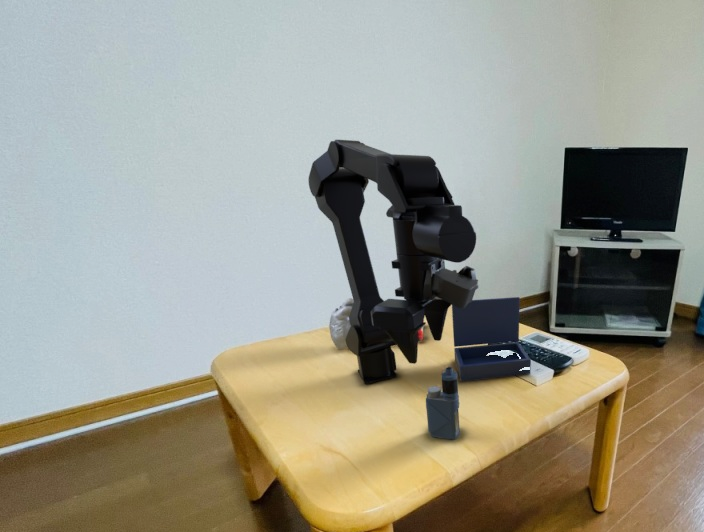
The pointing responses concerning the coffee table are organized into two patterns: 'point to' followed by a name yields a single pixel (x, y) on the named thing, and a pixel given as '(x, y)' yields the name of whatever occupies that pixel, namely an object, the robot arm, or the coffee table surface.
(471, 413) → the coffee table surface
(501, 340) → the lid
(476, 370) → the box
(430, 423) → the vaping device
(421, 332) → the race car
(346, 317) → the heart
